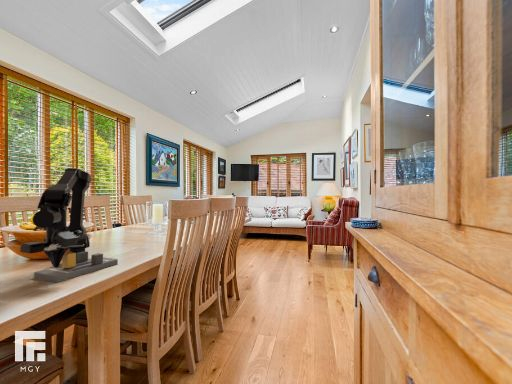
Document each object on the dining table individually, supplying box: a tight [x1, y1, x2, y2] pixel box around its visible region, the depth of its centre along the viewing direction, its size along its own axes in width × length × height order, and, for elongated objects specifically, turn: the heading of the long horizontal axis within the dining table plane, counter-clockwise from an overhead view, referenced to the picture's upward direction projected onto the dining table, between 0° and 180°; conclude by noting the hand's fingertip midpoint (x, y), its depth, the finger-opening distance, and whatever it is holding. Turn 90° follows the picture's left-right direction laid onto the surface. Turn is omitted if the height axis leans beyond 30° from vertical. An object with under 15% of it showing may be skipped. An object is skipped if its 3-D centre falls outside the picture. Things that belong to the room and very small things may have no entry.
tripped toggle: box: [61, 252, 76, 268], centre depth 96 cm, size 3×3×5 cm
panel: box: [33, 250, 119, 283], centre depth 99 cm, size 12×24×6 cm, turn 160°
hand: (56, 267), depth 91 cm, fingers closed
